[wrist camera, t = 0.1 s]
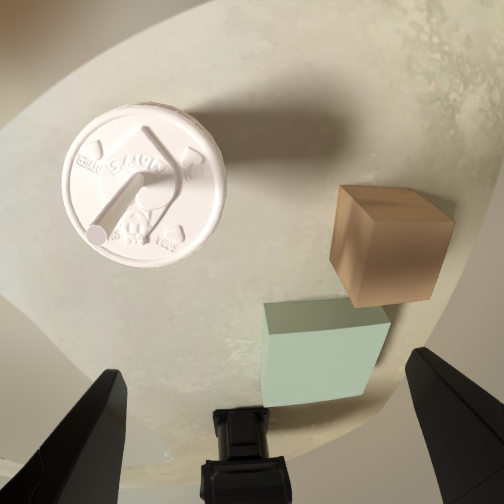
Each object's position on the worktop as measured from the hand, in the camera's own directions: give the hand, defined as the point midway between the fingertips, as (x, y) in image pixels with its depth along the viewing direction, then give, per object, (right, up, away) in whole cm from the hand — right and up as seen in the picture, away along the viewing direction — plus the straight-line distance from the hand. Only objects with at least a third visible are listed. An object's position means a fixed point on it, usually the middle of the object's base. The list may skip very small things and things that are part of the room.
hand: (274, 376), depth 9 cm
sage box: (+5, -5, +21) cm, 22 cm away
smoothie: (-6, +11, +10) cm, 16 cm away
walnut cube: (+8, +6, +15) cm, 18 cm away
